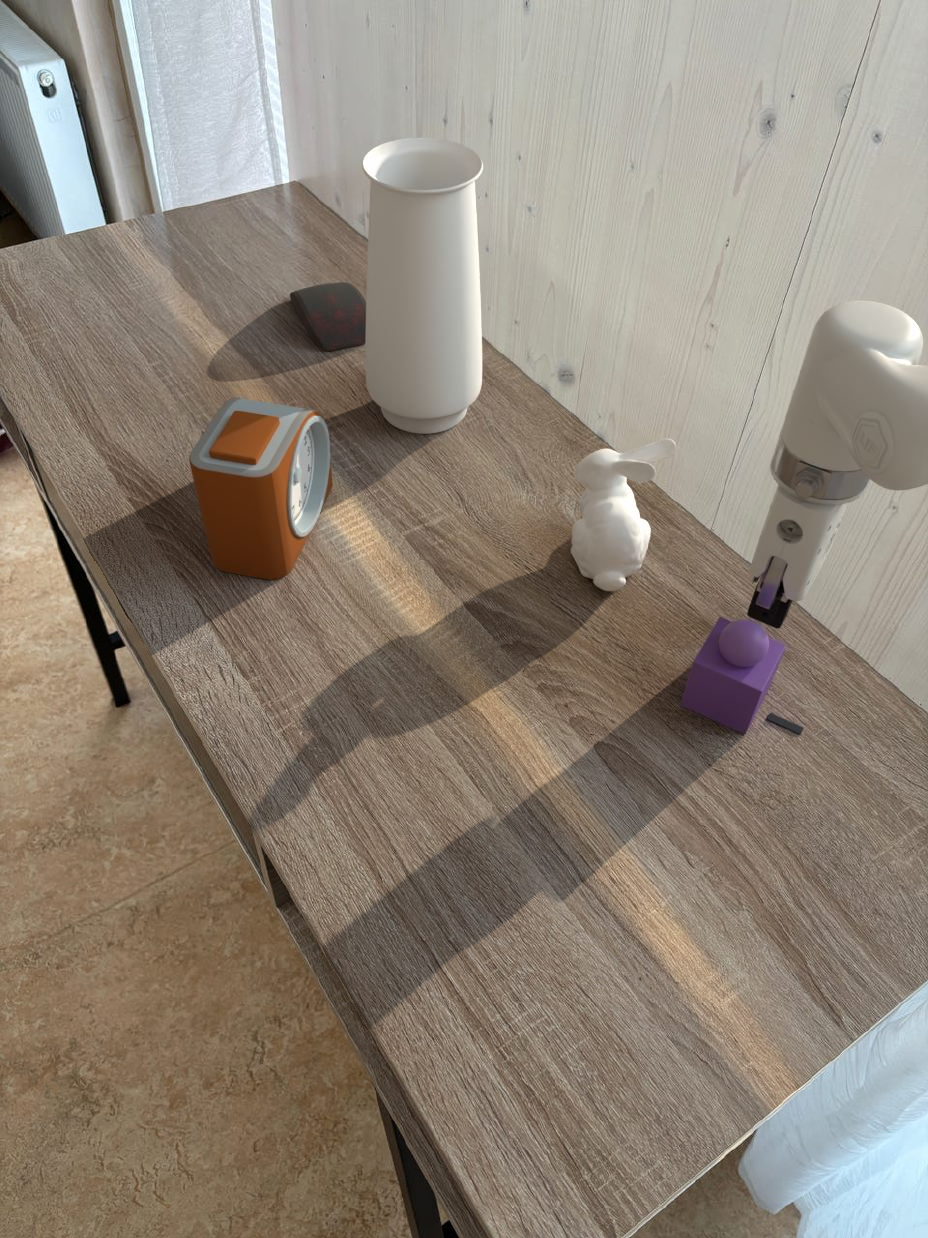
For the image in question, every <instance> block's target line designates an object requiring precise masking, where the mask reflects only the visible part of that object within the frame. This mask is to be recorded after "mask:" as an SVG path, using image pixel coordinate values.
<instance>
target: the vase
mask: <svg viewBox="0 0 928 1238" xmlns="http://www.w3.org/2000/svg"><path fill="white" fill-rule="evenodd" d="M361 168H362V171H363V173H364V175H365V176H366V177H367V178H368V179H369V180H370V185H369V186H370V187H369V210H368V233H367V234H368V235H367V264H366V266H367V267H366V296H365V301H366V341H365V344H364V345H365V347H364V350H365V355H364V356H365V357H364V360H365V361H364V362H365V363H364V364H365V369H364V371H365V386H366V390H367V392H368V394H369V397H370V398H371V399H372V400H373V402H374V403H375V404H376V405H378V406H379V407H380V410H381V413H382V415H383V417H384V418H385V420H386V421H387V422H388V423H389V424H390V425H391V426H393V427H395V428H397V429H398V430H401V431H404V432H408V433H412V434H419V435H420V434H421V435H429V434H436V433H442V432H445V431H448V430H451V429H452V428H454V427H456V426H457V425H458V424H460V423H461V422H462V420H463V419H464V418H465V416H466V414H467V411H468V408H469V407H470V406H471V405H472V404H474V402H475V401H476V400H477V399H478V397H479V395H480V393H481V390H482V386H483V385H482V384H483V333H482V331H483V329H482V328H483V327H482V303H481V302H482V301H481V299H482V298H481V275H480V256H479V254H480V253H479V252H480V251H479V234H478V233H479V232H478V216H477V197H476V195H477V194H476V181H477V180H478V179H479V177H480V176H481V175H482V173H483V171H484V163H483V160H482V158H481V157H480V155H479V154H478V153H476V151H474V150H473V149H471V148H469V147H468V146H466V145H464V144H461V143H460V142H459V143H458V142H455V141H452V140H448V139H444V138H443V139H442V138H437V137H436V138H434V137H407V138H399V139H396V140H391V141H388V142H384V143H381V144H379V145H377V146H375V147H373V148H372V149H371V150H369V151H368V152H367V153H366V154H365V156H364V157H363V159H362V163H361Z"/></svg>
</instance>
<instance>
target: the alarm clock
mask: <svg viewBox="0 0 928 1238" xmlns="http://www.w3.org/2000/svg"><path fill="white" fill-rule="evenodd" d="M330 440H331V439H330V434H329V429H328V426H327V424H326V420H325V418H324V416H323V414H322V413H321V412H319V410H316V409H311V408H305V407H298V406H291V405H286V404H285V405H284V404H278V403H272V402H266V401H260V400H253V399H248V398H247V399H246V398H240V397H231V398H229V399H228V400H226V401H224V402H223V404H222V405H221V406H220V407H219V409H218V410H217V411H216V413H215V414H214V416H213V417H212V419H211V421H210V422H209V423H208V425H207V427H206V428H205V430H204V431H203V433H202V434H201V436H200V437H199V439H198V441H197V442H196V443H195V445H194V446H193V448H192V450H191V451H190V454H189V456H188V461H189V465H190V471H191V475H192V479H193V483H194V489H195V492H196V497H197V502H198V506H199V510H200V516H201V519H202V525H203V528H204V532H205V538H206V541H207V546H208V551H209V554H210V560H211V562H212V565H213V566H214V567H215V568H216V569H218V570H219V571H222V572H225V573H230V574H235V575H239V576H240V575H241V576H246V577H251V578H257V579H263V580H271V581H272V580H279V579H281V578H284V577H286V576H288V575H289V574H290V573H291V572H292V570H293V569H294V567H295V566H296V563H297V560H298V559H299V557H300V555H301V552H302V551H303V548H304V546H305V545H306V542H307V540H308V538H309V536H310V534H311V532H312V531H313V528H314V527H315V525H316V523H317V521H318V519H319V517H320V514H321V511H322V509H323V507H324V505H325V503H326V500H327V498H328V496H329V494H330V492H331V490H332V488H333V487H334V485H333V483H334V482H333V474H332V464H331V442H330Z"/></svg>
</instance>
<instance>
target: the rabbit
mask: <svg viewBox="0 0 928 1238" xmlns="http://www.w3.org/2000/svg"><path fill="white" fill-rule="evenodd" d="M676 453H677V444H676V442H675V441H674V440H673V439H671V438H667V437H665V438H662V439H659V440H657V441H654V442H652V443H648V444H646V445H642V446H640V447H636V448H634V449H632V450H629V451H626V452H624V453H623V452H622V453H620V452H619V451H616V450H613V449H611V448H600V449H598V450H595V451H593V452H591V453H589V454H587V455H586V456H585V457H583V458H582V459H581V460H580V461H579V462H578V463H577V464H576V466H575V480H576V482H577V483H579V484H581V485H583V486H586V487H585V489H584V490H583V491H582V494H581V497H580V499H579V505H580V506H579V511H580V516H581V518H579V519H578V520H576V521H575V522H574V523H573V525H572V527H571V531H572V532H571V548H570V554H571V555H572V557H573V560H574V561H575V563H576V565H577V567H578V570H579V572H580V575H582V577H584V578H588V579H592V580H593V581H592V583H593V585H595V586H596V587H597V588H598V589H600V590H602V591H605V592H617V591H620V590H621V589H622V588H624V586H625V585H626V584H627V580H626V578H629V577H632V576H634V575H635V574H636V573H637V572H638V571H639V570H640V569H641V568H642V565H643V562H644V559H645V557H646V554H647V551H648V548H649V544H650V543H649V542H650V540H651V533H652V530H651V526H650V523H649V522H648V521H647V520H646V519H643V518H642V517H641V515H640V511H639V509H638V507H637V502H636V499H635V495H634V492H633V490H632V488H631V487H630V485H629V484H627V481H628V480H630V481H632V482H634V483H647V482H649V481H651V480H653V479H654V478H655V477H656V474H657V471H656V468H655V467H654V465H653V464H651V463H653V462H659V461H663V460H667V459H670V458H672V457H673V456H674V455H676ZM627 479H628V480H627Z"/></svg>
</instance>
